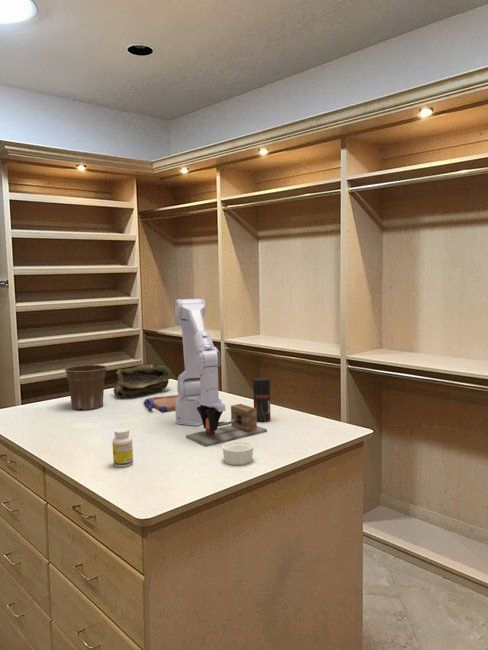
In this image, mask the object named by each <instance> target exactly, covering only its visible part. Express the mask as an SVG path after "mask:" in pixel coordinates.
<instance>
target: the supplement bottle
mask: <svg viewBox="0 0 488 650" xmlns="http://www.w3.org/2000/svg"><path fill="white" fill-rule="evenodd" d="M113 432H114V438H113V439H112V441H111V442H112V458H113V465H114V466H115V467H117V468H124V467H125V468H127V467H130V466H132V465H133V464H134V450H133V438H132V437H131V436H130V430H129V428H126V427H125V428H124V427H121V428H116V429H114V431H113Z"/></svg>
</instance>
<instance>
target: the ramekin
mask: <svg viewBox="0 0 488 650" xmlns="http://www.w3.org/2000/svg"><path fill="white" fill-rule="evenodd" d="M221 447H222V449H221V450H222V451H223V460H224V462H225V463H226V464H228V465H231V466H233V465H234V466H243V465H247V464H250V463H251V462H252V461H253V455H254V447H255V446H254V443H251V442H249V441H243V440H232V441H227V442H225V443H223V444H222V446H221Z"/></svg>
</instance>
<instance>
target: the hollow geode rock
mask: <svg viewBox="0 0 488 650" xmlns="http://www.w3.org/2000/svg"><path fill="white" fill-rule="evenodd" d="M171 372H172V369H170V367H169V366H168V365H167V364H165V363H163V364H162V363H153V362H147V363H140V364H139V365H136V366H131V367H127V368H122V367H119V368H118V369H117V370H116V371H115V374H116V375H117V383H116V384H115V386H114V388H113V394H114V396H115V397H117V398H130V397H132V396H133V395H135V394H137V393H140V394H146V393H147V394H149V393H151V392H160V391H162V390H164V389H166V388H167V387H168V385H169V380H171V379H172V377H173V376H172V375H171V374H170V373H171Z"/></svg>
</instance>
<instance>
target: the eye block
mask: <svg viewBox="0 0 488 650" xmlns="http://www.w3.org/2000/svg"><path fill="white" fill-rule="evenodd" d="M230 416H231V417H230V420H231V419H236V418H240V417H242V422H238V423H233V424H228V425H224V426H219V427H217V430H215V434H214V435H207V434H206V430H202V431H198V432H195V433H194V432H193V433H190V434H189V433H188V434H186V435H185V438H186V439H187V440H191V442H192V441H193V442H194V443H196V444H199V445H201V446H203V447H209V446H210V447H211V446H214V445H218V444H222V443H223V444H224V443H228V442H232V441H236V440H238V439H242V438H247V437H251V436H256V435H260V434H263V433H268V429H267V428H264V427H261V426H258V422H257V409H256V408H254V407H251V406H249V405H246V404H242V403H237V404H233V405H230Z"/></svg>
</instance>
